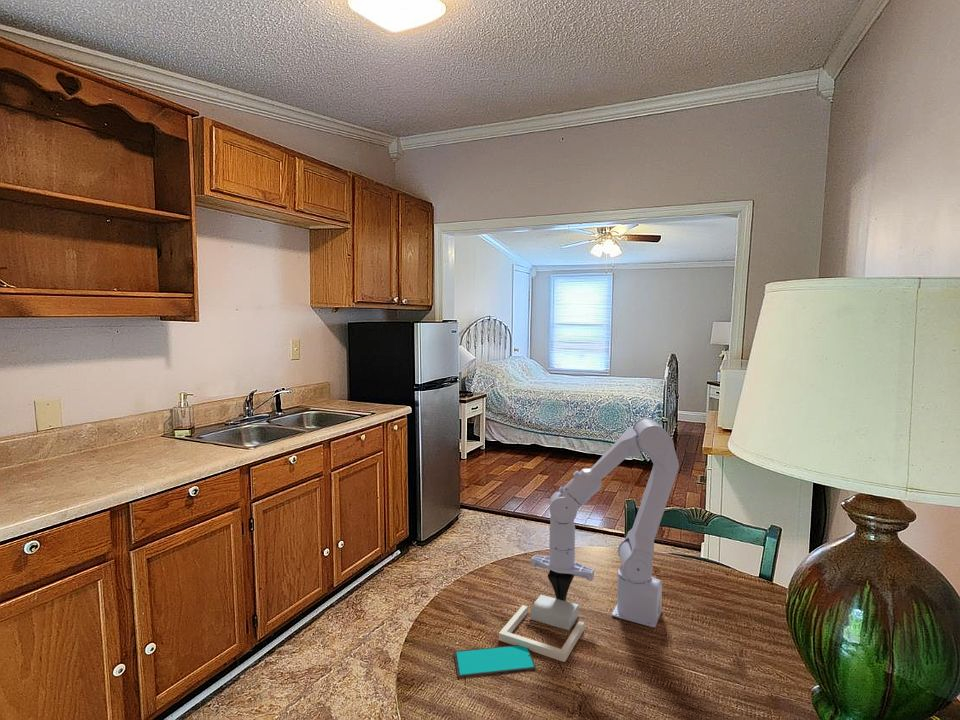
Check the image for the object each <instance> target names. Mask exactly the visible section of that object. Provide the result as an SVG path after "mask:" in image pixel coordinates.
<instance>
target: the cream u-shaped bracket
mask: <svg viewBox="0 0 960 720" xmlns="http://www.w3.org/2000/svg"><path fill="white" fill-rule="evenodd" d="M528 609H529V608H528V605H525V604H522V605H521V606H520V608H519V609H518V610H517V611H516V612H515V613H514V615H513V616H512V617H511V618H510V619H509V620H508V622H507V623H506V624H505V625H504V626H503V628H502V629H501V630H500V631H499V632H498V641H500V642H503V643H506V644H508V645H511V646H513V645H520V646H523V647H526V648H529V651H530V652H533V653H536V654H539V655H541V656H545V657H547V658H548V657H549V658H551V659H554V660H557V661H560V662H563V663H565V662H566V661H567V660H568V658H569V655H570V654H571V652H572V650H573V649H574V647H575V646H576V644H577V643H578V641H579V639H580V638H581V636H582V634H583V633H584V631H585V622H583V621H579V620H578V622H577V623H576V625H575V627H574V628H573V630H572V631H571V633H569V634H570V635H569V636H568V638H567V639H566V641H565V642H564V644H563V645H562V647H561V648H560V647H556V646H553V645H550V644H546V643H543V642H540V641H537V640H534V639H531V638H528V637H525V636H522V635H519V634H517V633H513V631H514V630H515V629H516V628H517V627H518V625H520V623H521V622H522V621H523V620H524V618H525V617H527V615H528V612H529V611H528Z"/></svg>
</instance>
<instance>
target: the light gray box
mask: <svg viewBox="0 0 960 720" xmlns="http://www.w3.org/2000/svg"><path fill="white" fill-rule="evenodd" d="M577 617H578V618H579V604H578V603H574V602H569V601H568V600H566V601H563V600H559V599H556V597H555V598H554V597H551V596H547V595H543V594H540V595H539V596H538V598H537V599H536V600H534V602H533V604H532V605H531V606H530V620H533V621H535V622H539V623H543V624H546V625H549V626H553V627H556V628H560V629H563V630H566V631H570V630H571V629H572V627H573V625H574V624H575V623H576V621H577V619H578V618H577Z"/></svg>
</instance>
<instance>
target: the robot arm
mask: <svg viewBox="0 0 960 720" xmlns="http://www.w3.org/2000/svg"><path fill="white" fill-rule="evenodd" d="M674 442H675V441H674V440H673V438H672V437H671V435H669V433H668V432H667V431H666V430H665V429H664V427H662V426H661V425H660V424H659V422H658V421H657V420H656V419H654V418H651V417H642V418H639V419H637V421H635V422H634V424H633V426H629V427H628V428H627V429H626V430H625V431H624V432H623V433H622V435H620V436H619V437H618V439H617V440H616V441H615V442H614V443H613V444H612V445H611V446H610V447H609V448H608V450H607V451H606V452H605V453H604V454H602V456H601V457H600V458H599V459H598V460H597V461H596V462H595V463H594V464H593V465H592V467H589V468H582V469H581V470H576V471H574V472H573V473H572V475H573V477H572V478H571V479H570V480H569V481H568V482H567V483H566V484H565V485H564V486H560V487H559V488H558V491H555V492H554V493H553V494H552V495H551V496H550V499H549V501H548V504H549V514H550V517H549V522H550V524H549V549H548V550H549V551H548V552H549V556H544V555H536V554H534V555H533V556H532V557H531V558H530V566H531V567H534V568H536V567H538V568H539V567H540V568H542V569H543V568H544V569H548V570H549V572H548V573H547V578H548V580H549V582H550V584H551V586H552V588H553V590H554V595H555V599H559V600H563V601H567V597H568V596H567V595H568V591H569V589H570V586H571V584H572V581H573V579H574V577H575V576H576V577H579V578H583V579H586V580H587V581H589V582H592V581H593V579H594V578H595V569H594V568H591V567H588V566H586V565H583V564H581V563H579V562H577V561H575V558H576V556H575V554H576V553H575V552H576V550H575V549H576V526H575V519H576V517H577V514H578V509H579V508H582V507H583V505H585V504H586V503H587V502H588V501H589V500H590V499H591V498H592V497H593V496H594V495H595V494H596V493H598V492H599V490H601V488H602V480H603V478H605V477H606V476H607V475H608V474H610V473H611V472H612V471H613V470H614V469H615V468H616V467H617V466H619V465H620V464H621V463H622V462H623V461H625V460H626V459H627V458H628V457H642V456H643V454H642V452H641V451H643V453H645V454H646V455H647V456H648V457H649V458H650V460H651V462H652V469H651V471H650V475H649V477H648V481H647V483H646V487H645V490H644V493H643V496H642V499H641V502H640V505H639V507H638V510H637V513H636V517H635V519H634V523H633V525H632V528H631V529H630V530H628V532H627V533H626V537H624V539H623V540H622V541H621V542H620V543H619V545H618V547H617V548H618V549H617V553H618V557H619V559H620V561H621V564H620V566H619V568H618V569H617V597H616V598H617V603H616V605H615V607H614V609H613V611H612V612H611V616H612V617H614V618H618V619H622V620H625V621H629V622H632V623H636V624H640V625H643V626H646V627H651V628H657V625H658V622H659V619H660V616H661V614H662V611H663V608H662V605H663V604H662V601H663V599H662V598H663V597H662V596H663V583H662V580H661V579H658V578H656V577H654V576H653V572H654V567H653V559H654V555H655V554H654V553H655V540H656V539H655V538H656V537H657V533H658V530H659V527H660V524H661V521H662V518H663V515H664V513H665V509H666V506H667V503H668V500H669V498H670V495H671V493H672V490H673V486H674V483H675V481H676V477H677V474H678V472H679V467H680V464H679V463H680V462H679V458H678V456H677V453H676V450H675V444H674Z"/></svg>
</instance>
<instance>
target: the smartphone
mask: <svg viewBox="0 0 960 720" xmlns="http://www.w3.org/2000/svg"><path fill="white" fill-rule="evenodd" d="M453 657H454V662H455V664H454V665H455V669H456V675H457V678H458V679H463V678H473V677H481V676H482V677H483V676H491V675H503V674H511V673H512V674H513V673H522V672H527V671H529V672H530V671H535V670H536V665H535V662H534V659H533V656H532V654H531V651H530V650H529V648H526V647H523V646H520V645H507V646H506V645H504V646H503V645H502V646H497V647H496V646H495V647H487V648H486V647H483V648H474V649H463V650H456V651H453Z"/></svg>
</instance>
